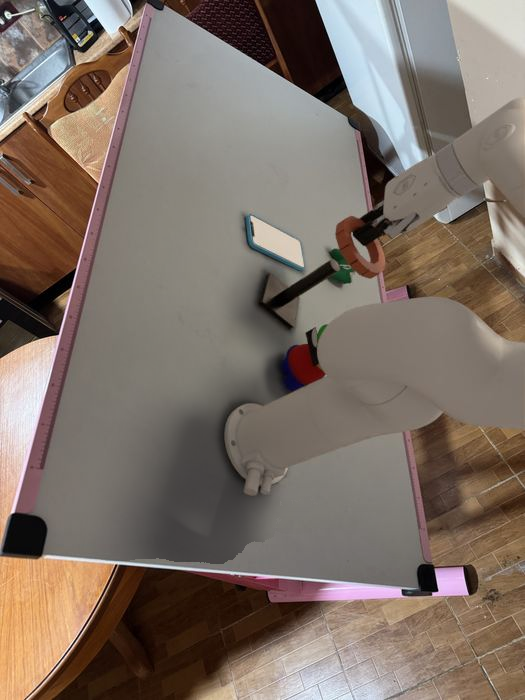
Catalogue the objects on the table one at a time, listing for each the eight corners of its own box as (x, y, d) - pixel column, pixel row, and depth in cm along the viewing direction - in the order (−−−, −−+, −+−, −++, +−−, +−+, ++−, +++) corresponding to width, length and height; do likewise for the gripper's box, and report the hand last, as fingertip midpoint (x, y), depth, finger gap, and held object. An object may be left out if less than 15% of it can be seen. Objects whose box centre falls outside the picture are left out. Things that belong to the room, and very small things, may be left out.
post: (290, 329, 102) (348, 295, 94) (258, 304, 99) (316, 265, 90) (296, 299, 108) (352, 264, 99) (266, 274, 104) (321, 235, 95)
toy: (303, 407, 96) (372, 376, 86) (266, 388, 91) (335, 353, 82) (304, 364, 101) (369, 330, 92) (269, 343, 97) (334, 305, 87)
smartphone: (306, 270, 113) (252, 243, 103) (302, 273, 113) (247, 247, 103) (301, 240, 116) (248, 211, 106) (296, 243, 117) (243, 215, 107)
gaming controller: (323, 285, 120) (351, 289, 119) (325, 271, 117) (353, 275, 116) (330, 260, 126) (356, 263, 125) (331, 246, 124) (358, 249, 123)
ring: (375, 289, 91) (384, 284, 89) (332, 250, 86) (341, 244, 85) (378, 249, 97) (386, 243, 96) (338, 210, 93) (346, 204, 92)
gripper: (439, 126, 86) (348, 193, 98) (442, 183, 76) (339, 250, 88) (467, 159, 89) (375, 220, 101) (472, 218, 79) (369, 279, 91)
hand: (359, 234), depth 94 cm, fingers closed on ring, 2 cm apart
